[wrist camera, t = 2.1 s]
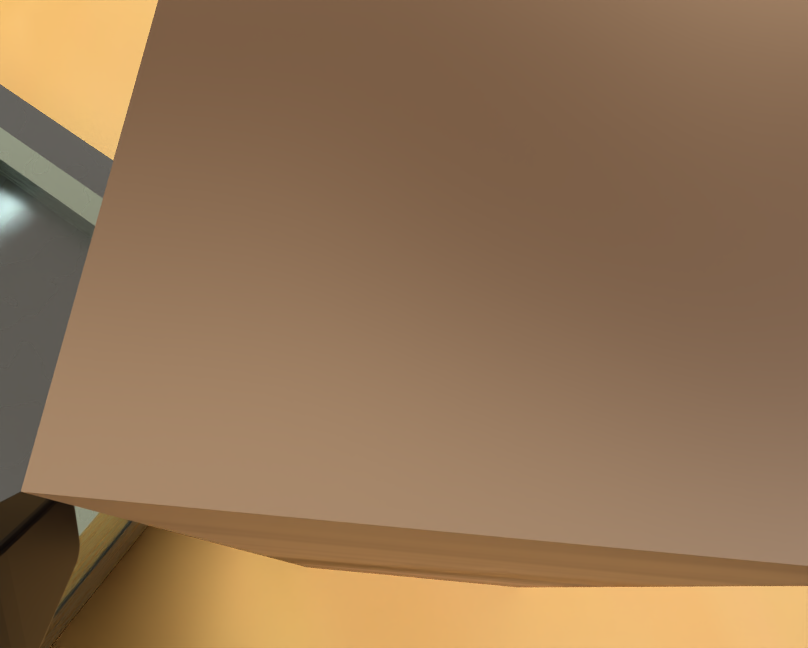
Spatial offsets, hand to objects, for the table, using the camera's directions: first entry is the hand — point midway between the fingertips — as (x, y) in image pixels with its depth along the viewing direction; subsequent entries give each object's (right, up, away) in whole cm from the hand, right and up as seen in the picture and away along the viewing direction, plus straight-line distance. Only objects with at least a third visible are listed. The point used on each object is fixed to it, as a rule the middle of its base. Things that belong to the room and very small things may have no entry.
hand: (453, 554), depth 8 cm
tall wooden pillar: (0, -1, +11) cm, 11 cm away
